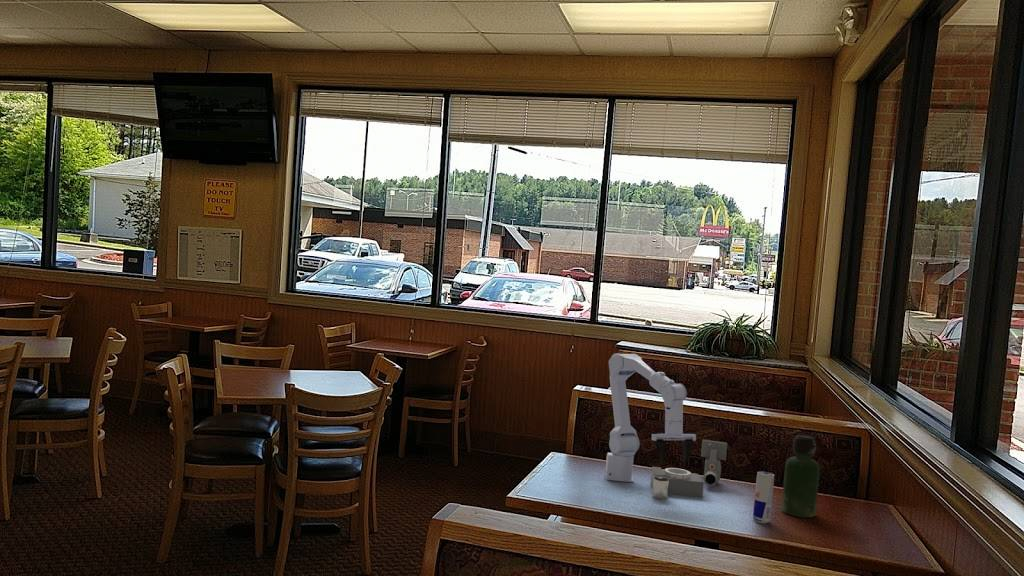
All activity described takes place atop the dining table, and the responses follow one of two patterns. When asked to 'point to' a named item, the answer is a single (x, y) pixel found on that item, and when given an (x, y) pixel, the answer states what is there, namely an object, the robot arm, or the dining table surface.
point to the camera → (713, 460)
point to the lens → (660, 487)
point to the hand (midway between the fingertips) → (673, 462)
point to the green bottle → (801, 479)
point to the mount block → (680, 481)
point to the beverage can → (763, 497)
